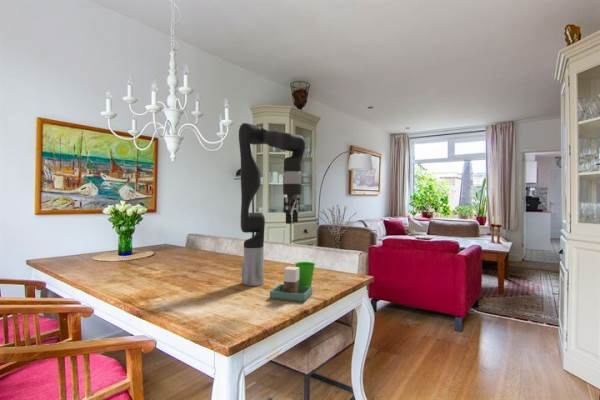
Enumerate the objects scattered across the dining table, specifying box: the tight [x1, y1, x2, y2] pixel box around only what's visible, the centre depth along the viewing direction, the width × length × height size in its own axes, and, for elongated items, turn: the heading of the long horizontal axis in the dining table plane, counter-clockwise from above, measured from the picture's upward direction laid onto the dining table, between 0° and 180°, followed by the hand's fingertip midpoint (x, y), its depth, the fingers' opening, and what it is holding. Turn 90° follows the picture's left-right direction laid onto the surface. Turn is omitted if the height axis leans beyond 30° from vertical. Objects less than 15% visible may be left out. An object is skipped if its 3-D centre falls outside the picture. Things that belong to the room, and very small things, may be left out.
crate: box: [269, 283, 313, 303], centre depth 132 cm, size 14×11×3 cm
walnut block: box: [283, 280, 299, 294], centre depth 132 cm, size 5×5×6 cm
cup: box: [294, 261, 316, 287], centre depth 143 cm, size 9×9×11 cm
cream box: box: [283, 266, 299, 282], centre depth 131 cm, size 5×5×5 cm
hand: (291, 222), depth 131 cm, fingers open, 8 cm apart
